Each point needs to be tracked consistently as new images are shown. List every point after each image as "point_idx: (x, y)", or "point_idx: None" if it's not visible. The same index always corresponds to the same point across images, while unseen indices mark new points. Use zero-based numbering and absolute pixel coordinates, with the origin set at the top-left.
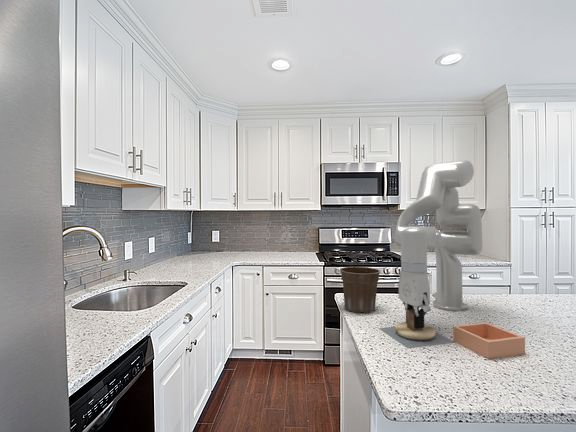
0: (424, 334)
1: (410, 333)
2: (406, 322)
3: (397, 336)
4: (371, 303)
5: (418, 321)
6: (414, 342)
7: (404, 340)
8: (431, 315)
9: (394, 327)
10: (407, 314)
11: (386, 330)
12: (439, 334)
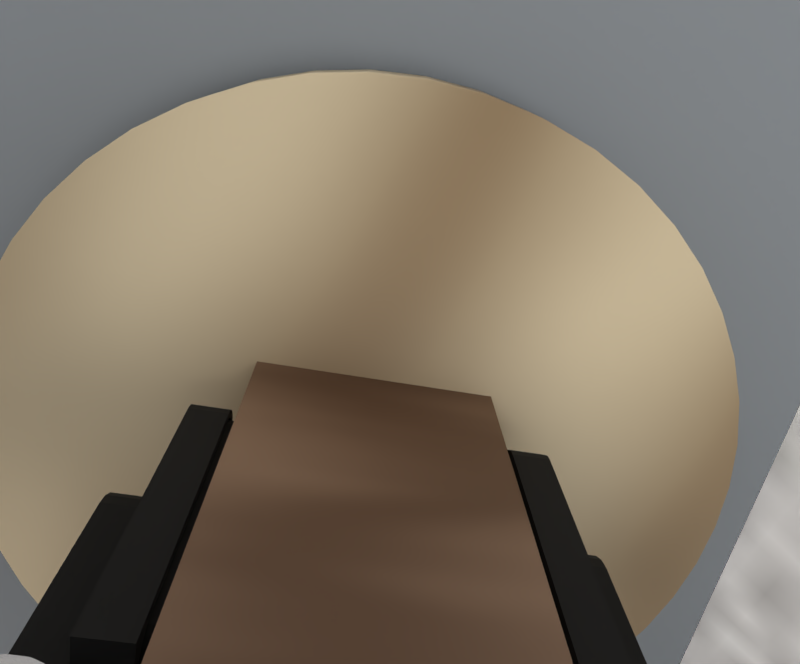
0: (32, 418)
1: (175, 206)
2: (533, 460)
3: (424, 35)
4: None
5: (86, 564)
6: (43, 127)
7: (191, 8)
8: None
9: (787, 331)
10: (517, 612)
11: (786, 62)
12: None
